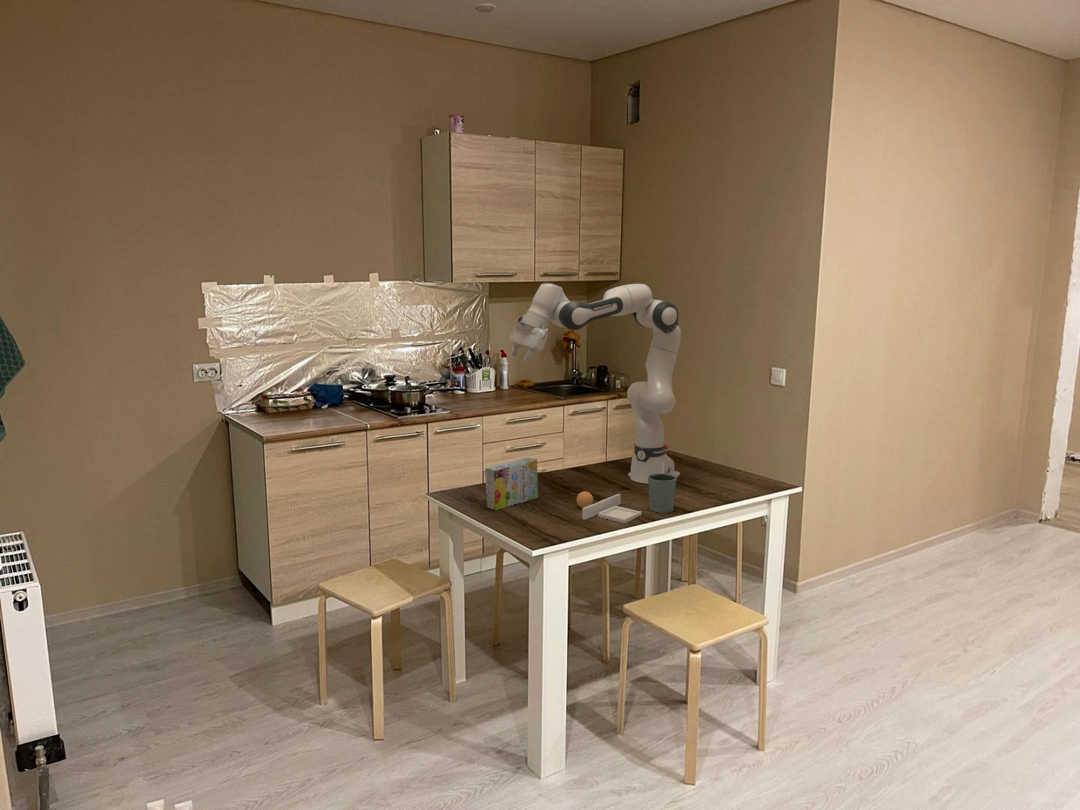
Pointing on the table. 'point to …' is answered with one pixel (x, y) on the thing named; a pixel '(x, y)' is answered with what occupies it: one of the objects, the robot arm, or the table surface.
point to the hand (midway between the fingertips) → (519, 358)
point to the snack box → (511, 483)
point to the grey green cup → (661, 492)
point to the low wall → (601, 506)
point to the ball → (584, 499)
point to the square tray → (619, 514)
